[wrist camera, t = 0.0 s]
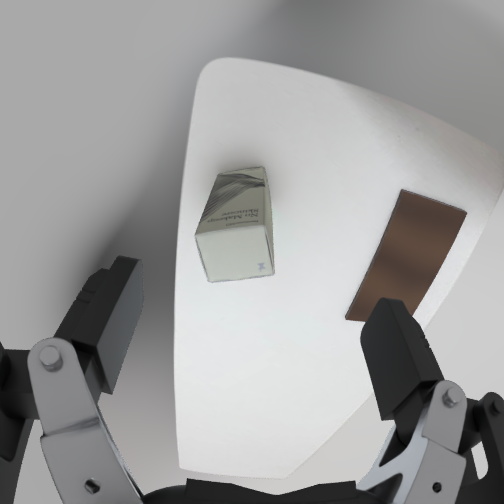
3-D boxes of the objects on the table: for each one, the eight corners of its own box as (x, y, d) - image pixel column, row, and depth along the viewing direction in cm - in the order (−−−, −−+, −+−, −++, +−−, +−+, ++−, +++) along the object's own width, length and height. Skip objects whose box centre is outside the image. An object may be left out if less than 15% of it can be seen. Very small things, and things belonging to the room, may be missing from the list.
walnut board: (401, 189, 31) (403, 191, 31) (465, 210, 32) (467, 212, 32) (344, 317, 42) (345, 319, 41) (405, 322, 43) (406, 325, 42)
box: (264, 165, 30) (270, 222, 20) (271, 203, 33) (279, 276, 22) (214, 173, 31) (191, 234, 20) (223, 211, 33) (207, 286, 22)
